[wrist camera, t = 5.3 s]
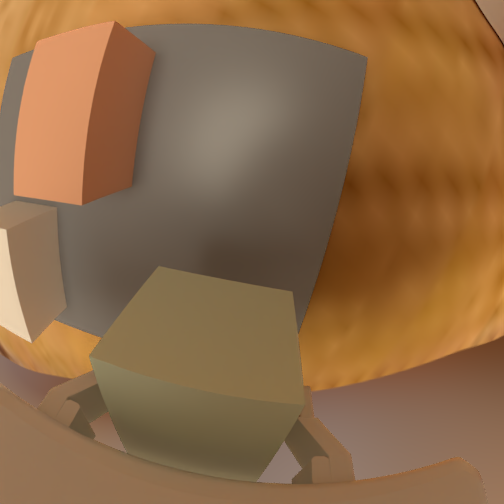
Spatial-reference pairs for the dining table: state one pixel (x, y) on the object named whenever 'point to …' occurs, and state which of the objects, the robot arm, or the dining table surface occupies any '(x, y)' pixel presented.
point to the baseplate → (192, 179)
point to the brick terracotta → (81, 114)
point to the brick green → (203, 373)
